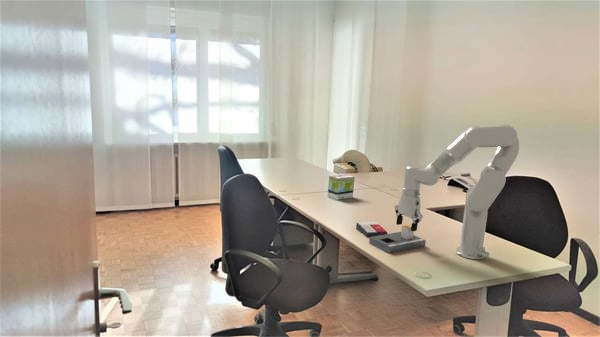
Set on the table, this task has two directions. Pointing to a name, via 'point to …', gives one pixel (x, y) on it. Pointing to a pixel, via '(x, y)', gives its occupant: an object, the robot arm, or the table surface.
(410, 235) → the plug
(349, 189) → the tea box
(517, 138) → the robot arm
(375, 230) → the calculator
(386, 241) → the port panel
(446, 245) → the table surface
